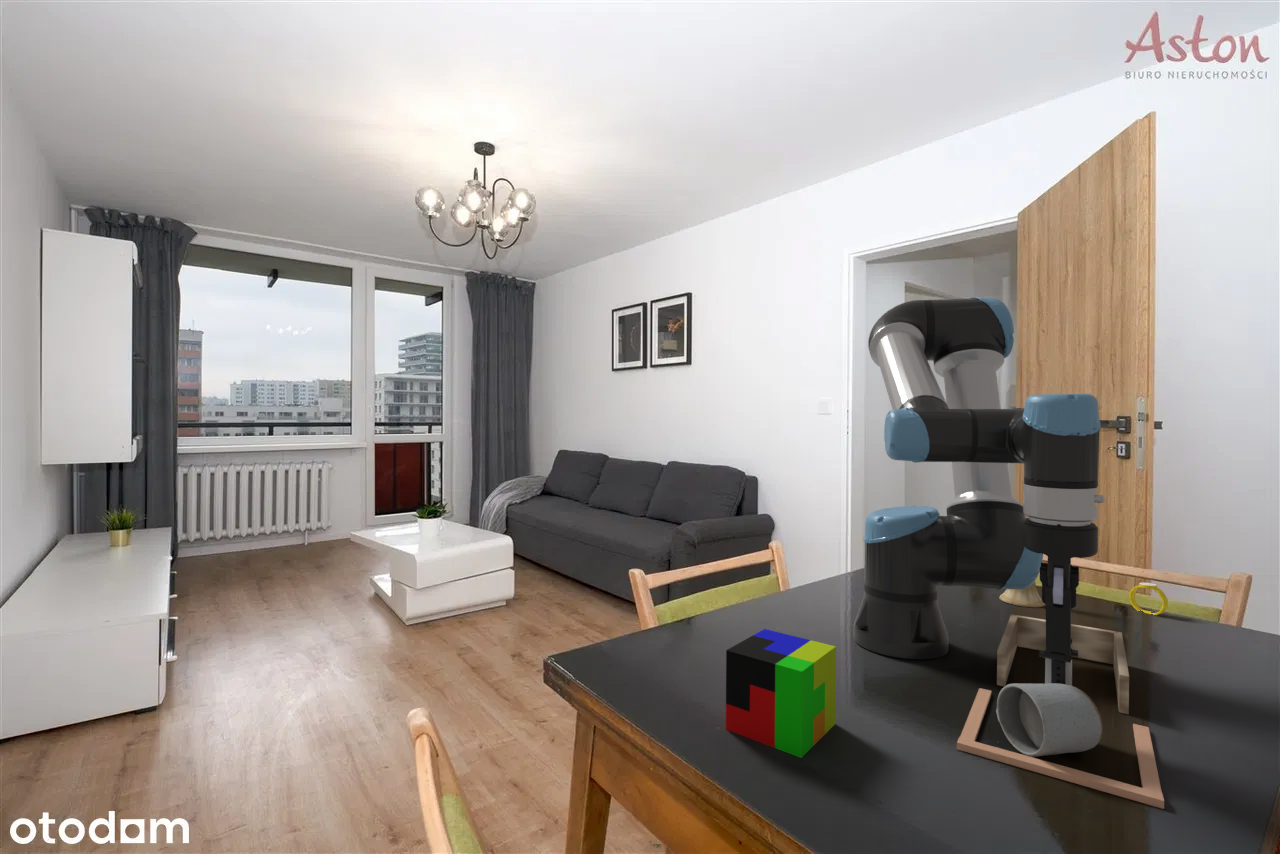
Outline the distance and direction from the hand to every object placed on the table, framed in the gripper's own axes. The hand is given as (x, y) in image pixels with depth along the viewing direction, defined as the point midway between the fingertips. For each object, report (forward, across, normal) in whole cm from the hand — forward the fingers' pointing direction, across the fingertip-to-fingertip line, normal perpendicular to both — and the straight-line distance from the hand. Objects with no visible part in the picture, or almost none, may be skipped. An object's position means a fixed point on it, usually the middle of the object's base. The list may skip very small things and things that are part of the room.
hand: (1058, 708), depth 76 cm
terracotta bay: (+3, -2, 0) cm, 4 cm away
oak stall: (+4, +21, 0) cm, 21 cm away
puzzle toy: (+3, -19, +28) cm, 34 cm away
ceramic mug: (+3, -5, +2) cm, 6 cm away
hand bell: (+5, +61, +8) cm, 61 cm away
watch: (+5, +67, -13) cm, 68 cm away
